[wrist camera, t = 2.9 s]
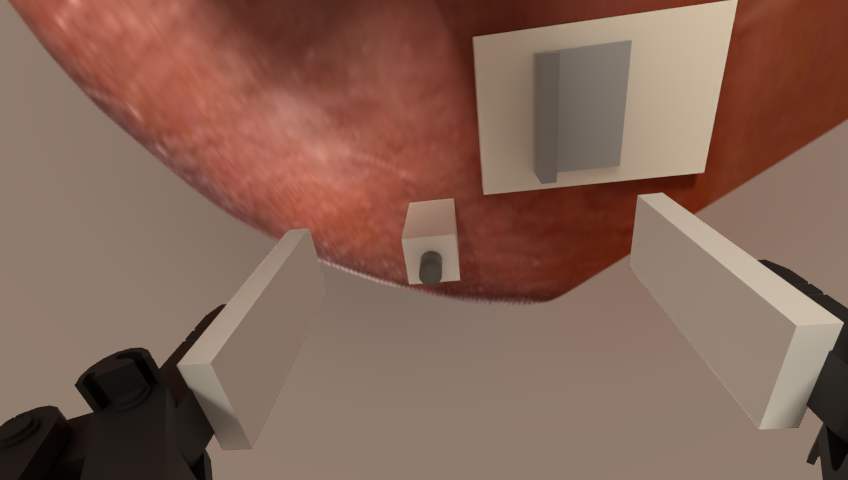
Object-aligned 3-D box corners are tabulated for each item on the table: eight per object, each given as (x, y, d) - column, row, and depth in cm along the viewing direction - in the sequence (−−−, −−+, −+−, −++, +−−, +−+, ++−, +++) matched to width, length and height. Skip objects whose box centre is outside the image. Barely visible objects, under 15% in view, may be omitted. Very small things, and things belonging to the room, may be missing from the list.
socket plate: (482, 187, 38) (483, 194, 36) (472, 37, 32) (473, 36, 30) (691, 165, 36) (703, 172, 34) (720, 1, 30) (737, -1, 28)
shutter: (533, 172, 35) (541, 184, 32) (533, 53, 31) (542, 54, 28) (616, 163, 34) (631, 174, 31) (627, 40, 30) (646, 40, 27)
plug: (415, 241, 41) (406, 300, 32) (409, 202, 39) (398, 253, 30) (457, 238, 41) (461, 296, 31) (453, 198, 39) (456, 248, 29)
